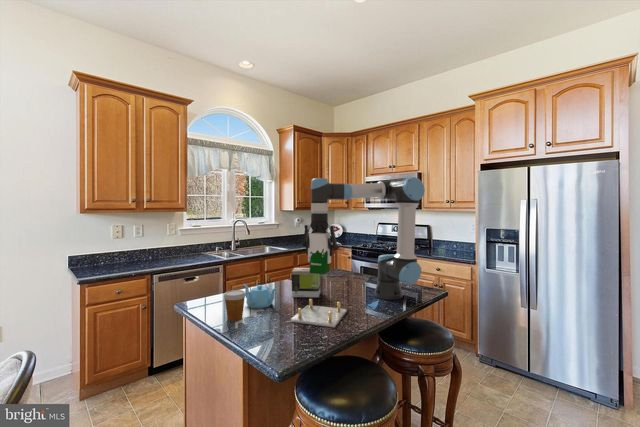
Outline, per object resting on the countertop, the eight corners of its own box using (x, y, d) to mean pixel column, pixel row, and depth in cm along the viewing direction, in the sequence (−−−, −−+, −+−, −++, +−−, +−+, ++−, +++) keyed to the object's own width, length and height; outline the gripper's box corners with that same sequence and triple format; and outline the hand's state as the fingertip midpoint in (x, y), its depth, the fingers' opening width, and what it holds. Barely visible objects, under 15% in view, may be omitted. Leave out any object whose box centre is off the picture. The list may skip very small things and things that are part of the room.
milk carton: (331, 270, 147) (332, 227, 146) (324, 275, 138) (325, 229, 137) (314, 269, 150) (314, 227, 149) (306, 273, 141) (306, 228, 141)
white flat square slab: (346, 311, 151) (346, 300, 151) (334, 327, 132) (334, 315, 132) (307, 307, 157) (307, 296, 157) (290, 321, 138) (290, 310, 138)
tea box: (320, 292, 182) (320, 267, 182) (318, 298, 172) (318, 271, 172) (294, 292, 184) (294, 266, 183) (291, 297, 174) (291, 270, 173)
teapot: (271, 299, 170) (270, 280, 169) (277, 308, 156) (277, 287, 155) (243, 303, 164) (243, 283, 164) (247, 312, 150) (247, 290, 150)
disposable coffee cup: (227, 315, 147) (227, 289, 146) (248, 315, 146) (248, 289, 146) (220, 323, 137) (220, 295, 137) (242, 323, 137) (242, 295, 136)
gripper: (344, 212, 143) (344, 262, 144) (300, 212, 150) (300, 259, 151) (340, 213, 136) (340, 265, 137) (294, 212, 143) (294, 262, 144)
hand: (319, 262), depth 144 cm, fingers closed on milk carton, 9 cm apart
